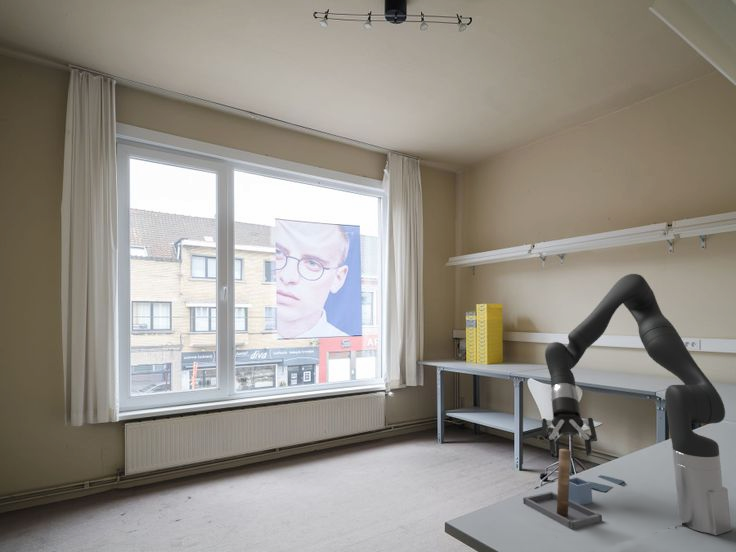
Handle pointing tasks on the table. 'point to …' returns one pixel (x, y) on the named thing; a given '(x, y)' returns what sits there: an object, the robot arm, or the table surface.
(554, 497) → the tray
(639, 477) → the table surface
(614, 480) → the smartphone
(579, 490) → the cup
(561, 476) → the dowel
